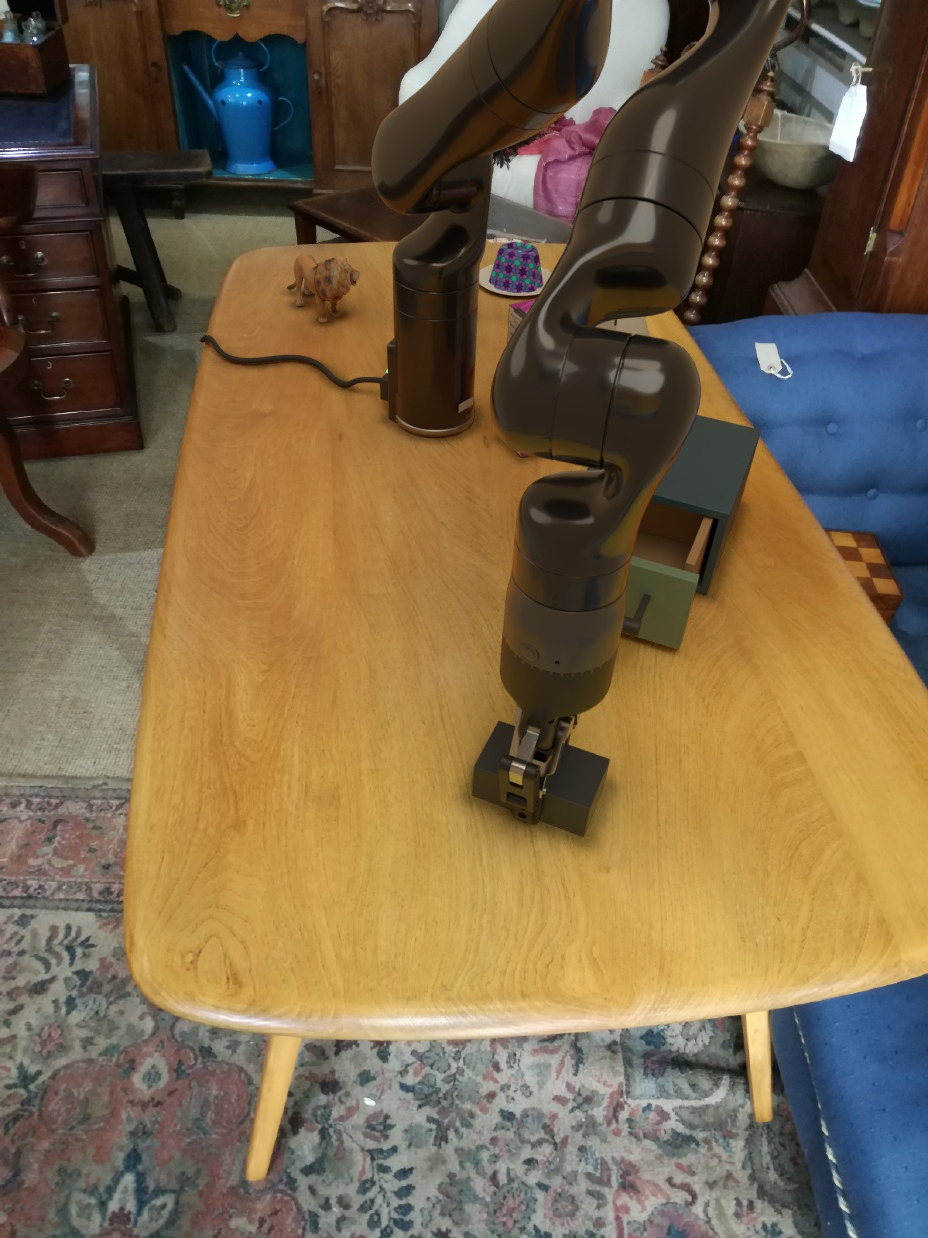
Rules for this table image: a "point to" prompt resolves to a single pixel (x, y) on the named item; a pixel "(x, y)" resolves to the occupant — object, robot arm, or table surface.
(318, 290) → the lion figurine
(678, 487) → the cabinet
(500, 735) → the matte charcoal brick
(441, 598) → the table surface
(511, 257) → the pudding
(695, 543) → the drawer
